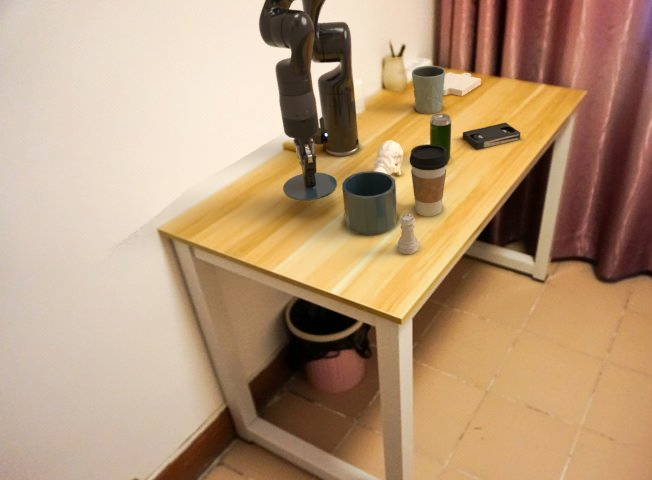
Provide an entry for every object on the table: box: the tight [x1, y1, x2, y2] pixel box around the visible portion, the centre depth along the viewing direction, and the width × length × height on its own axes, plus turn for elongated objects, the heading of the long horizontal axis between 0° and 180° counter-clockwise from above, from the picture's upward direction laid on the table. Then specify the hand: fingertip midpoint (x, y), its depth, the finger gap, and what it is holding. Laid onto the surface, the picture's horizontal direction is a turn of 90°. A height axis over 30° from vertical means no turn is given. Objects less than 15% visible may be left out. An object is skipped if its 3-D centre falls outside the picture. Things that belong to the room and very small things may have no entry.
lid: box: [282, 165, 338, 202], centre depth 123 cm, size 12×12×6 cm
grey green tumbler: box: [411, 65, 446, 115], centre depth 168 cm, size 10×10×12 cm
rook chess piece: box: [397, 213, 420, 255], centre depth 111 cm, size 4×4×8 cm
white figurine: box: [372, 139, 405, 176], centre depth 134 cm, size 6×8×12 cm
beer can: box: [429, 113, 452, 163], centre depth 140 cm, size 5×5×12 cm
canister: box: [341, 170, 398, 236], centre depth 119 cm, size 11×11×10 cm
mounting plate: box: [443, 71, 482, 97], centre depth 186 cm, size 18×13×2 cm
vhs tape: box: [462, 122, 521, 150], centre depth 152 cm, size 14×8×2 cm, turn 114°
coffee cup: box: [409, 143, 449, 217], centre depth 120 cm, size 8×8×15 cm
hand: (309, 182), depth 124 cm, fingers closed on lid, 2 cm apart
